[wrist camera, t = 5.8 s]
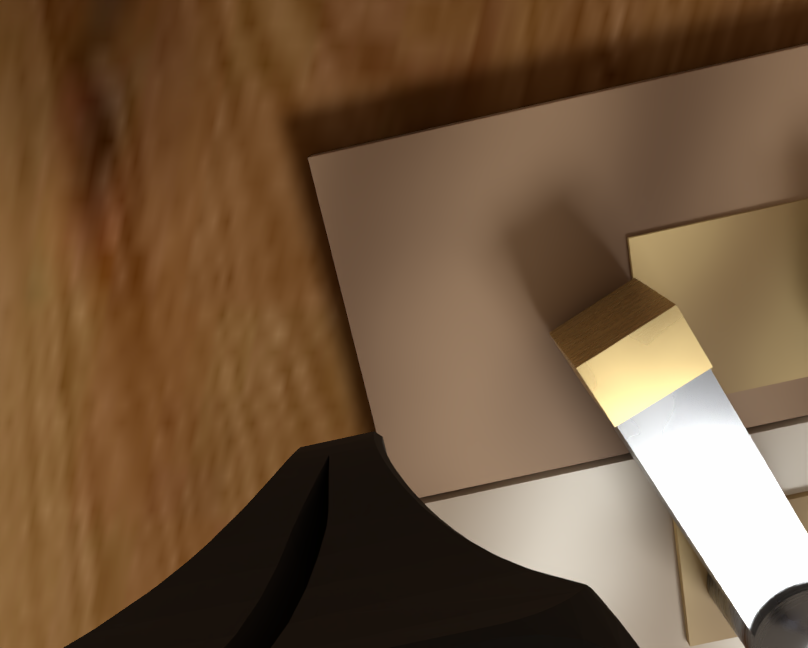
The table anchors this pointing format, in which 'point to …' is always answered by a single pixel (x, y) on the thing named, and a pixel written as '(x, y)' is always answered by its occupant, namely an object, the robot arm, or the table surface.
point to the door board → (572, 294)
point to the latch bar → (695, 458)
